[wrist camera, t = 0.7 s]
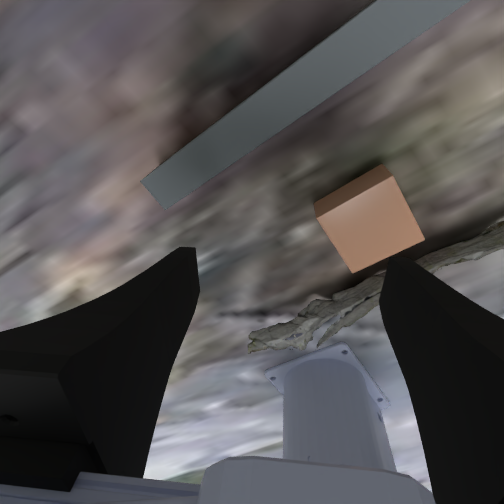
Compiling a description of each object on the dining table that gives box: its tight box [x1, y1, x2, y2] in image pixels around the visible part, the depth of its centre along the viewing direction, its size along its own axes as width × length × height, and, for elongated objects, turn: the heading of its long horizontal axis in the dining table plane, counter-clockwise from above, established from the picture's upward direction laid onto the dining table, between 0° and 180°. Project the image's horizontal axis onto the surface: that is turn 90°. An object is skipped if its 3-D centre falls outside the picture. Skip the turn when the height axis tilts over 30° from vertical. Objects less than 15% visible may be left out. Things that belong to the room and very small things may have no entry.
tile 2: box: [314, 164, 425, 274], centre depth 19 cm, size 4×4×2 cm
